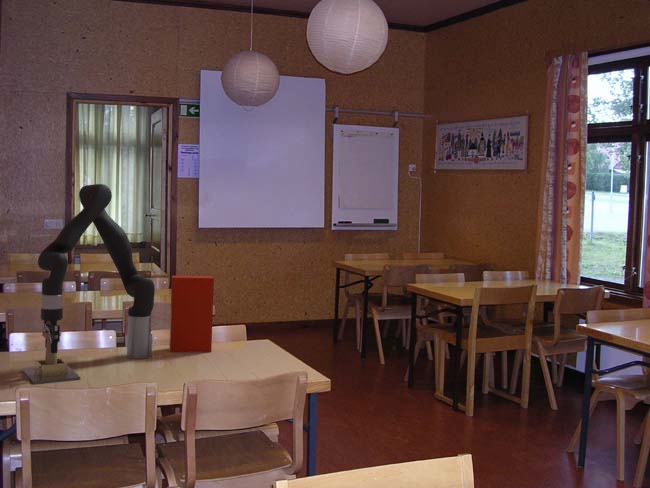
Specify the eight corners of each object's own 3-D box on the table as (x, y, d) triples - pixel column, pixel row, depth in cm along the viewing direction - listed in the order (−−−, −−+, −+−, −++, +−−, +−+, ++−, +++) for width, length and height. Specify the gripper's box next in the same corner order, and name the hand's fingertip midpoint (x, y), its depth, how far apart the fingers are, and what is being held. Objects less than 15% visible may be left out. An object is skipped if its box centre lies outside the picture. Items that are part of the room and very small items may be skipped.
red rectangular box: (169, 348, 319) (171, 275, 316) (209, 347, 323) (212, 275, 320) (170, 352, 311) (172, 277, 308) (211, 352, 315) (213, 278, 312)
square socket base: (66, 366, 281) (66, 354, 280) (80, 379, 264) (80, 366, 264) (22, 370, 272) (22, 357, 271) (33, 384, 255) (33, 370, 255)
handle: (59, 374, 266) (59, 333, 265) (40, 374, 265) (41, 333, 264) (61, 371, 271) (62, 331, 270) (42, 371, 270) (43, 330, 268)
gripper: (67, 309, 262) (66, 353, 263) (57, 302, 274) (57, 345, 275) (45, 310, 258) (44, 355, 259) (36, 303, 270) (36, 347, 271)
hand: (51, 350), depth 267 cm, fingers open, 8 cm apart
